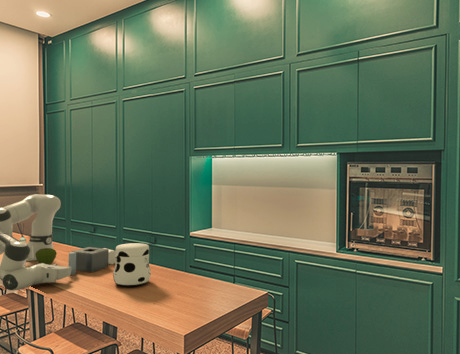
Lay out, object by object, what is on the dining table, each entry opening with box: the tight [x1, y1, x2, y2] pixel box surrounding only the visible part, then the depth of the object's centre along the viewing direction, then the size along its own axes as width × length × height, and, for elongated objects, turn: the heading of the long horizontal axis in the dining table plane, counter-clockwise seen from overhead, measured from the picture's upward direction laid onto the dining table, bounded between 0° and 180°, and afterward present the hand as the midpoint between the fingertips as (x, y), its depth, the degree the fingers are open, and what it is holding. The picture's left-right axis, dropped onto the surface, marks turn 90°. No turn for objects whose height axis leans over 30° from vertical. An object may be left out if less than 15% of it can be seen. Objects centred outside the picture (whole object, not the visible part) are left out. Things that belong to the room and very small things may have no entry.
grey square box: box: [71, 246, 109, 273], centre depth 201 cm, size 14×13×10 cm
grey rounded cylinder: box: [67, 251, 77, 276], centre depth 189 cm, size 4×4×11 cm
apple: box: [35, 248, 58, 265], centre depth 206 cm, size 11×10×10 cm
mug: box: [103, 247, 116, 265], centre depth 215 cm, size 12×10×8 cm
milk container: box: [112, 242, 152, 288], centre depth 174 cm, size 17×17×18 cm
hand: (63, 266), depth 182 cm, fingers open, 8 cm apart
